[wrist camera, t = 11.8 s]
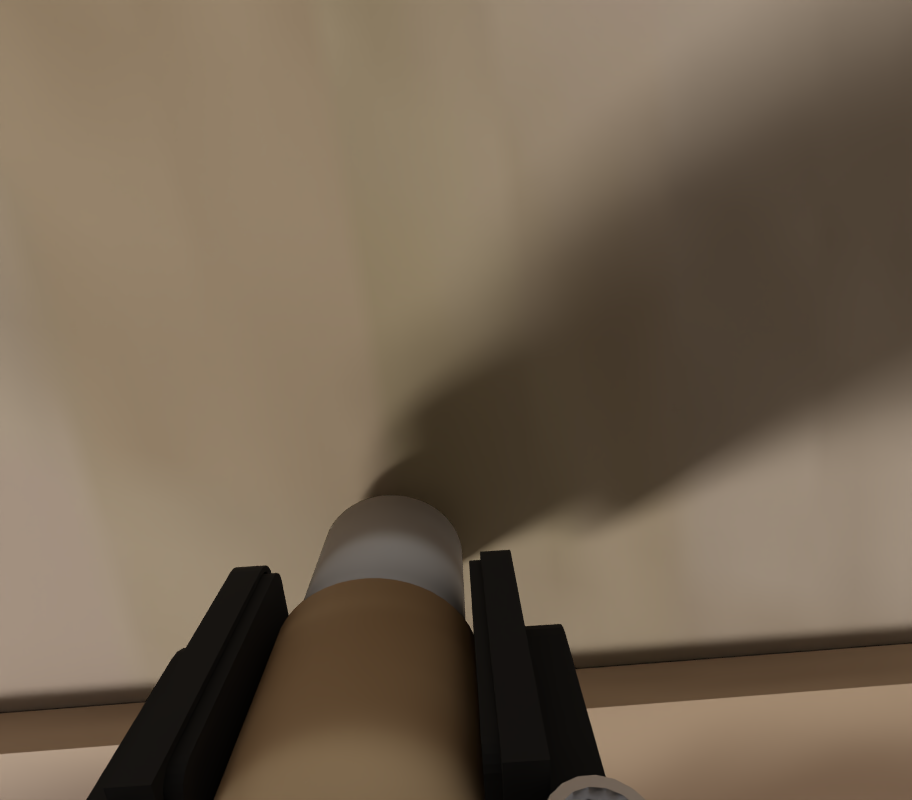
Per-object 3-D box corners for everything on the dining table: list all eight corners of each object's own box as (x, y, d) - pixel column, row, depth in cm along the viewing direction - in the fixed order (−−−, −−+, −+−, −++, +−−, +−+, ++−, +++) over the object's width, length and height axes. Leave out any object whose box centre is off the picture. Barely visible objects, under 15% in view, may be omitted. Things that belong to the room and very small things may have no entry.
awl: (303, 491, 11) (-30, 1158, 3) (467, 481, 11) (517, 1125, 3) (326, 624, 13) (115, 1360, 5) (475, 614, 13) (529, 1335, 5)
